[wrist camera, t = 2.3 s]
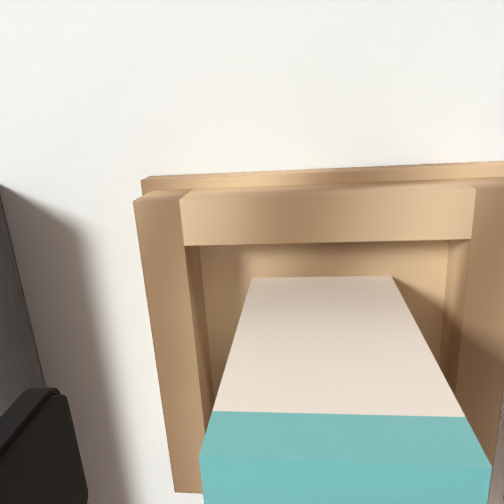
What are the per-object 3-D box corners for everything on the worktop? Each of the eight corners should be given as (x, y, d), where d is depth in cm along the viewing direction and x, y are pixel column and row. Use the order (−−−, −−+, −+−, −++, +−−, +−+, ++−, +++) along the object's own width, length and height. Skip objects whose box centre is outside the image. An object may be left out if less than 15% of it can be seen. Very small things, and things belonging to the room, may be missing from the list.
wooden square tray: (503, 161, 12) (548, 172, 10) (468, 456, 15) (496, 515, 13) (149, 176, 13) (119, 190, 11) (184, 446, 16) (166, 499, 14)
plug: (391, 275, 12) (492, 467, 6) (386, 394, 14) (464, 664, 7) (251, 278, 13) (199, 456, 6) (259, 392, 14) (220, 643, 8)
